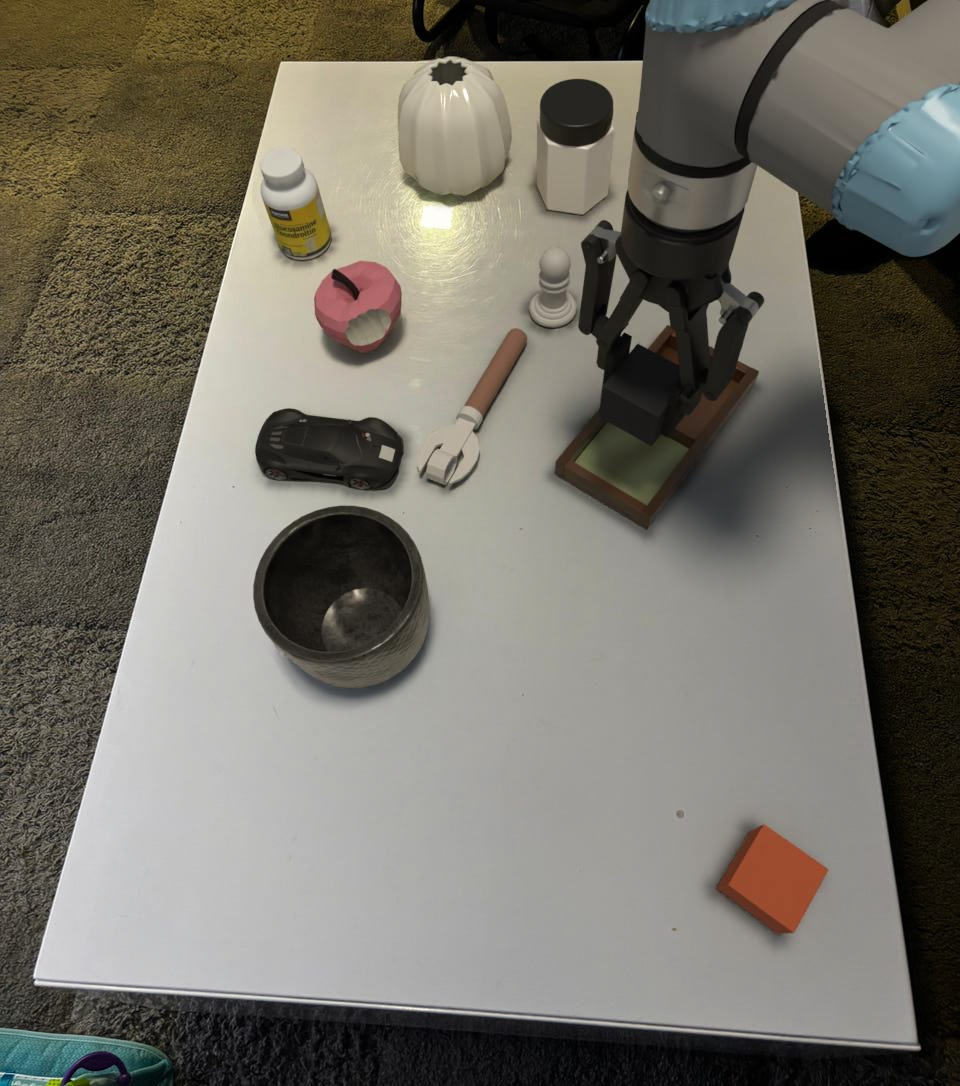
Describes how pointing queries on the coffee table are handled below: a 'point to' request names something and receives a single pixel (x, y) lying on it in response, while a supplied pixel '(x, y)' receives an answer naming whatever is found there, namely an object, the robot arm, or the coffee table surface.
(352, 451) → the toy car
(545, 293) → the chess piece
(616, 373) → the black cube
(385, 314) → the apple
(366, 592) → the planter
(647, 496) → the frame
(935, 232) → the robot arm
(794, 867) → the orange block
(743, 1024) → the coffee table surface
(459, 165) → the vase
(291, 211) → the pill bottle
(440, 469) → the pizza cutter
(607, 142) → the jar
